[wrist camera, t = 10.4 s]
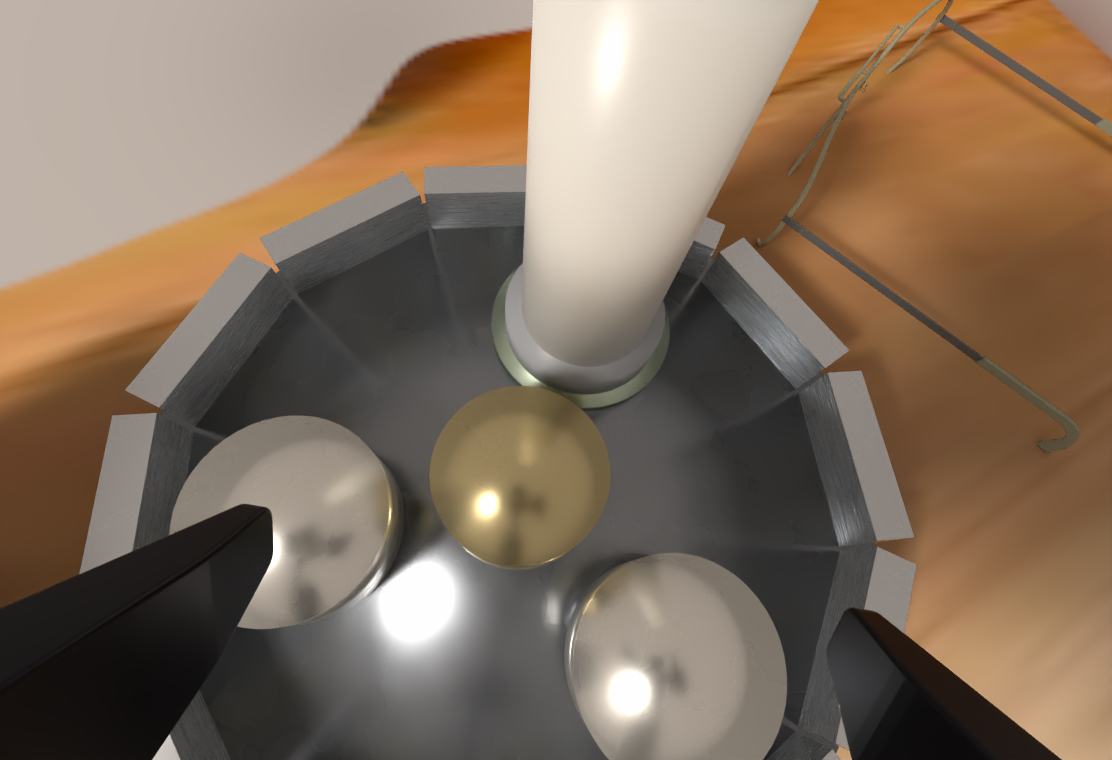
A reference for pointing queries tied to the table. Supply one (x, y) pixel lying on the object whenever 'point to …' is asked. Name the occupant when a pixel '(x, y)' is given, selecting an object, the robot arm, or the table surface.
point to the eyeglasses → (984, 362)
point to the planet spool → (629, 167)
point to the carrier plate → (441, 600)
